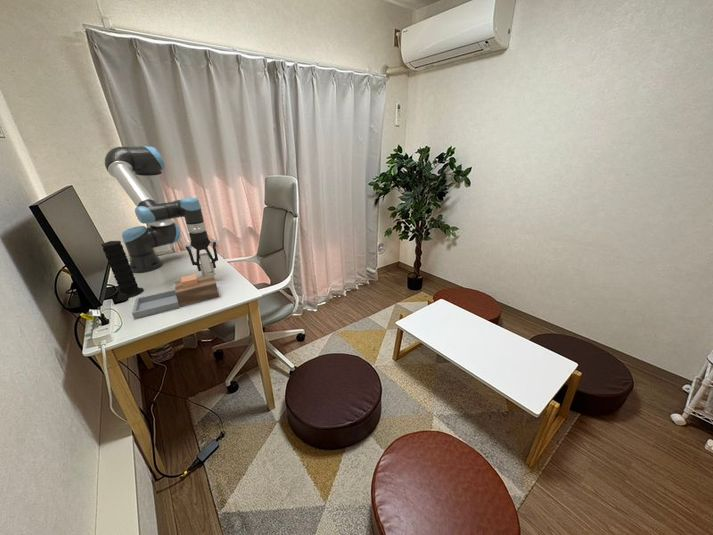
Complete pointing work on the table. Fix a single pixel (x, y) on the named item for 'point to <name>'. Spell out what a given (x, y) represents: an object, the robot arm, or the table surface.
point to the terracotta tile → (189, 281)
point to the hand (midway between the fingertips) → (208, 275)
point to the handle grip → (121, 269)
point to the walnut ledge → (197, 291)
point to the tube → (206, 264)
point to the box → (155, 304)
